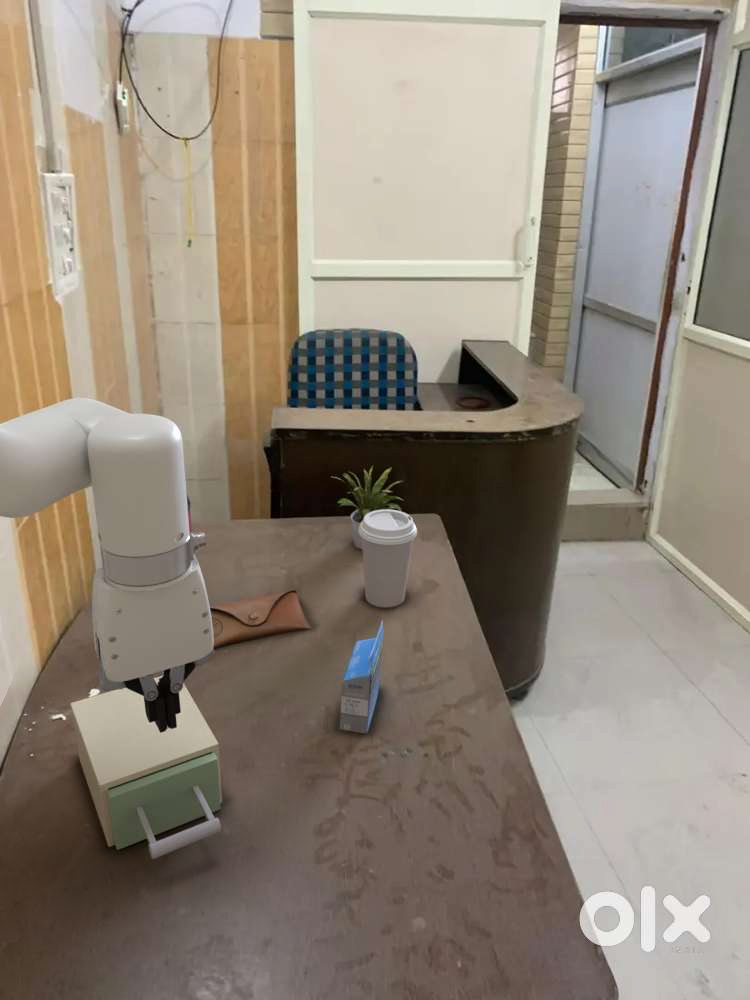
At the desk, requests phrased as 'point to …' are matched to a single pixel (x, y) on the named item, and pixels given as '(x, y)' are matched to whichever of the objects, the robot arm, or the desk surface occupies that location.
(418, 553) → the desk surface
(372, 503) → the house plant
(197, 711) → the cabinet
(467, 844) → the desk surface
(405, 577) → the coffee cup
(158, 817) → the drawer
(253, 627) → the sunglasses case
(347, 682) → the label tape box
